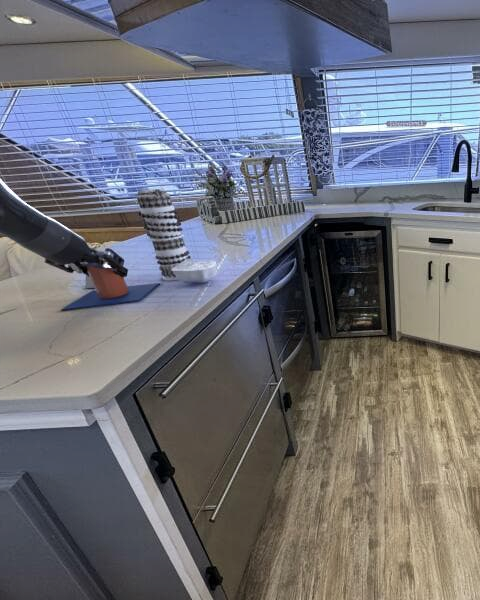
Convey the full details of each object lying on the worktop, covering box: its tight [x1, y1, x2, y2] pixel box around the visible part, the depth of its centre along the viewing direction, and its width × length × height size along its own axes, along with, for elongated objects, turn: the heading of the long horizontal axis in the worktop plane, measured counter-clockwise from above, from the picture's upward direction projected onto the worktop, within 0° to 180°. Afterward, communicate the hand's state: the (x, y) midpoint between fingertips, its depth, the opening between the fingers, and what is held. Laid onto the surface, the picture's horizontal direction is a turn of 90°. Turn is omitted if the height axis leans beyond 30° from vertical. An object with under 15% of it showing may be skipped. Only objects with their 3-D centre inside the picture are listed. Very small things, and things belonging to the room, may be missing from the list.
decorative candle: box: [135, 188, 192, 282], centre depth 93 cm, size 9×9×25 cm
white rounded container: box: [171, 258, 218, 284], centre depth 90 cm, size 10×12×7 cm
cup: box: [85, 258, 129, 299], centre depth 81 cm, size 6×6×10 cm
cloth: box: [61, 282, 160, 312], centre depth 84 cm, size 16×13×1 cm
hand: (111, 274), depth 83 cm, fingers closed on cup, 6 cm apart
